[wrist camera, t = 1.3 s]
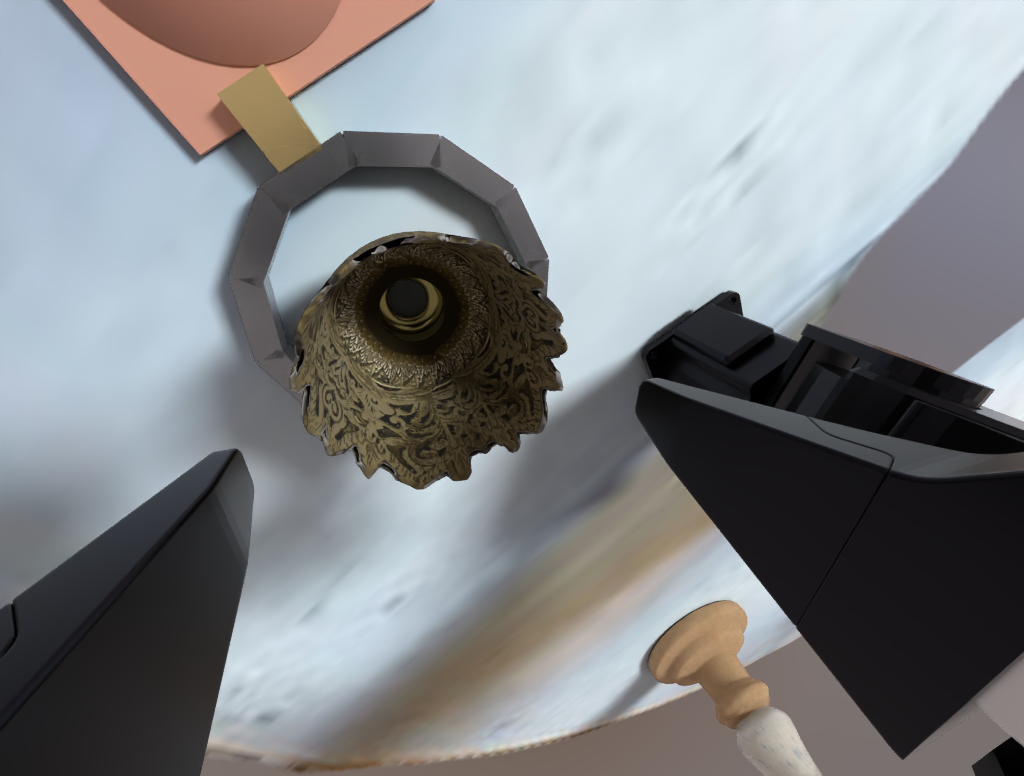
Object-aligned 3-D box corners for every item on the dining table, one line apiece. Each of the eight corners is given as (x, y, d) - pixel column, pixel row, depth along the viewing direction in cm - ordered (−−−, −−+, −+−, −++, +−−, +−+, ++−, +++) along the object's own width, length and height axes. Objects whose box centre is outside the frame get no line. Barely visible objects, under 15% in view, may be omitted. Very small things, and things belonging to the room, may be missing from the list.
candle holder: (651, 628, 41) (859, 947, 24) (748, 583, 44) (993, 840, 27) (642, 686, 47) (803, 969, 31) (728, 643, 50) (916, 880, 34)
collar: (589, 359, 22) (600, 368, 21) (408, 484, 22) (411, 499, 21) (406, -20, 13) (411, -35, 12) (86, 192, 13) (64, 194, 12)
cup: (364, 400, 19) (374, 527, 12) (271, 244, 15) (213, 312, 8) (508, 338, 20) (588, 426, 14) (458, 177, 16) (538, 191, 9)
